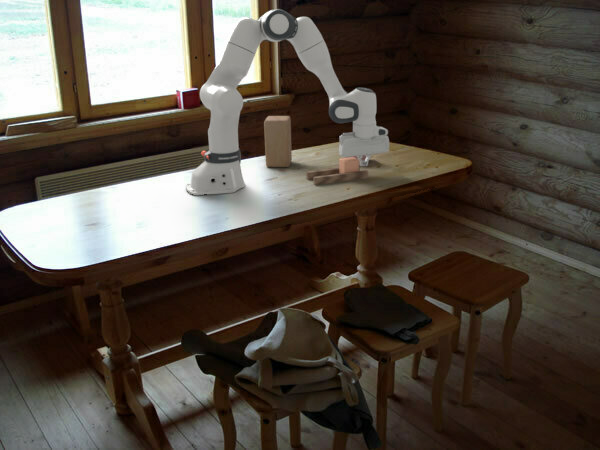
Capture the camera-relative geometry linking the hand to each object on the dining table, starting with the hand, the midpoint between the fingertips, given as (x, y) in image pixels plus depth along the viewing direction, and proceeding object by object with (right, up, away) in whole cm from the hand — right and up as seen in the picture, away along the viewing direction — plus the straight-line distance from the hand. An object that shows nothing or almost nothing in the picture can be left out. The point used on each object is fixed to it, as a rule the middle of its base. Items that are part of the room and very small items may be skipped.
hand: (363, 165), depth 253 cm
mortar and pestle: (-1, +2, +19) cm, 20 cm away
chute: (-11, -6, -2) cm, 12 cm away
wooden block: (-34, +2, +22) cm, 41 cm away
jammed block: (-6, -4, -1) cm, 7 cm away
